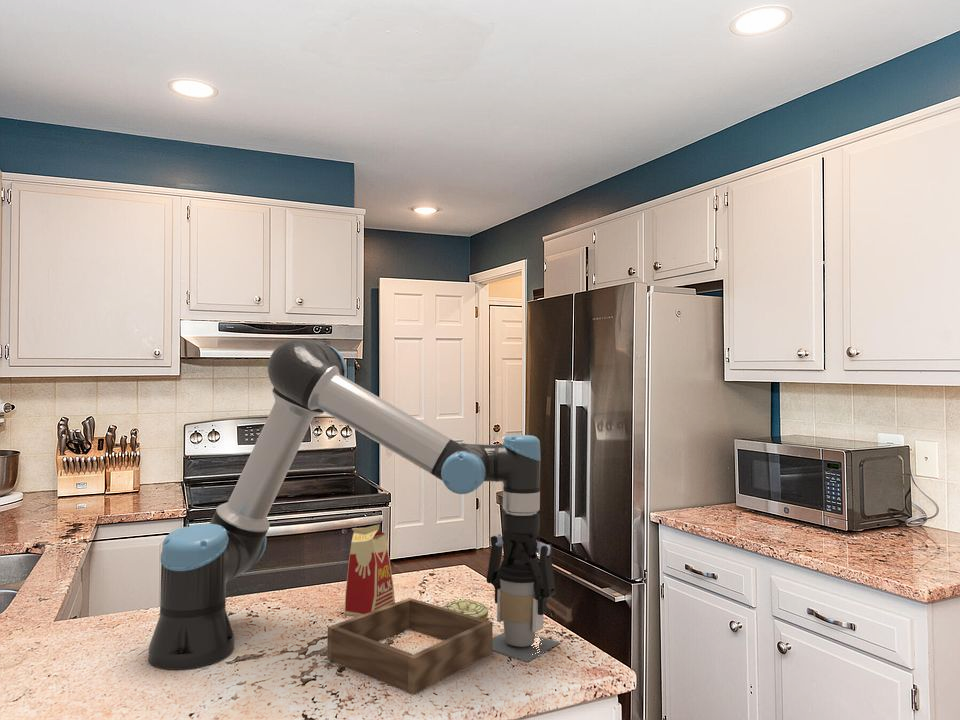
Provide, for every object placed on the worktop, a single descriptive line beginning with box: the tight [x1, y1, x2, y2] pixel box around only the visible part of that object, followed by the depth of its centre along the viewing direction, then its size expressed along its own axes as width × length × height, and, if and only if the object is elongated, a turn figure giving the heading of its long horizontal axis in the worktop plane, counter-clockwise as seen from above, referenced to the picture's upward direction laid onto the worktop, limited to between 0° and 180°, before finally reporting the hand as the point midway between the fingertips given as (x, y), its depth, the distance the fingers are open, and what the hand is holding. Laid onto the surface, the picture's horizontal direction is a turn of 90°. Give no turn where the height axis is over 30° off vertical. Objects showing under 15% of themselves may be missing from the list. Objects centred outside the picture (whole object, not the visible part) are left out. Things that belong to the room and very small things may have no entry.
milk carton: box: [344, 523, 396, 617], centre depth 154 cm, size 9×9×20 cm
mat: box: [492, 632, 561, 663], centre depth 135 cm, size 12×12×1 cm
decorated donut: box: [442, 598, 489, 620], centre depth 148 cm, size 10×11×4 cm
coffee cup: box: [497, 560, 541, 647], centre depth 136 cm, size 9×9×15 cm
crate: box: [326, 597, 494, 695], centre depth 129 cm, size 22×22×6 cm
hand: (519, 624), depth 135 cm, fingers closed on coffee cup, 8 cm apart
